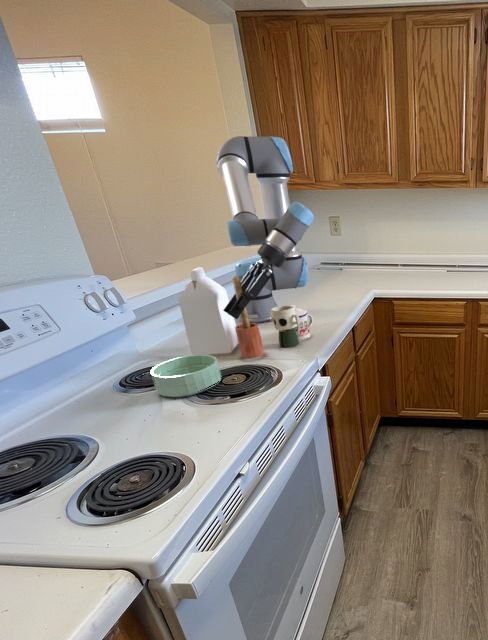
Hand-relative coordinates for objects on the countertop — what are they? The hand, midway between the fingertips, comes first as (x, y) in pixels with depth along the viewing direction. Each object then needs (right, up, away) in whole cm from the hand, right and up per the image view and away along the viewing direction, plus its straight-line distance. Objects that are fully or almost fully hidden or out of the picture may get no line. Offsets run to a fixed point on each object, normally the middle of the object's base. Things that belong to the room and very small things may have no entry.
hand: (230, 314), depth 121 cm
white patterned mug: (+13, -4, +25) cm, 28 cm away
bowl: (-5, -20, -11) cm, 24 cm away
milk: (-11, -9, +15) cm, 21 cm away
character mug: (+12, -8, +16) cm, 21 cm away
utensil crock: (+3, -12, +8) cm, 15 cm away
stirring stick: (+3, -11, +8) cm, 14 cm away
